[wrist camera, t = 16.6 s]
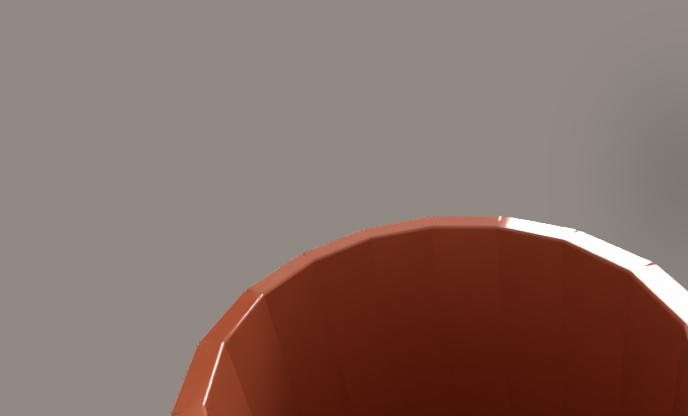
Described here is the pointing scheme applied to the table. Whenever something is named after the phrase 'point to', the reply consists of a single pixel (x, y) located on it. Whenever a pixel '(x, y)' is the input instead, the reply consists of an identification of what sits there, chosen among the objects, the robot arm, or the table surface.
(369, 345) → the cup
